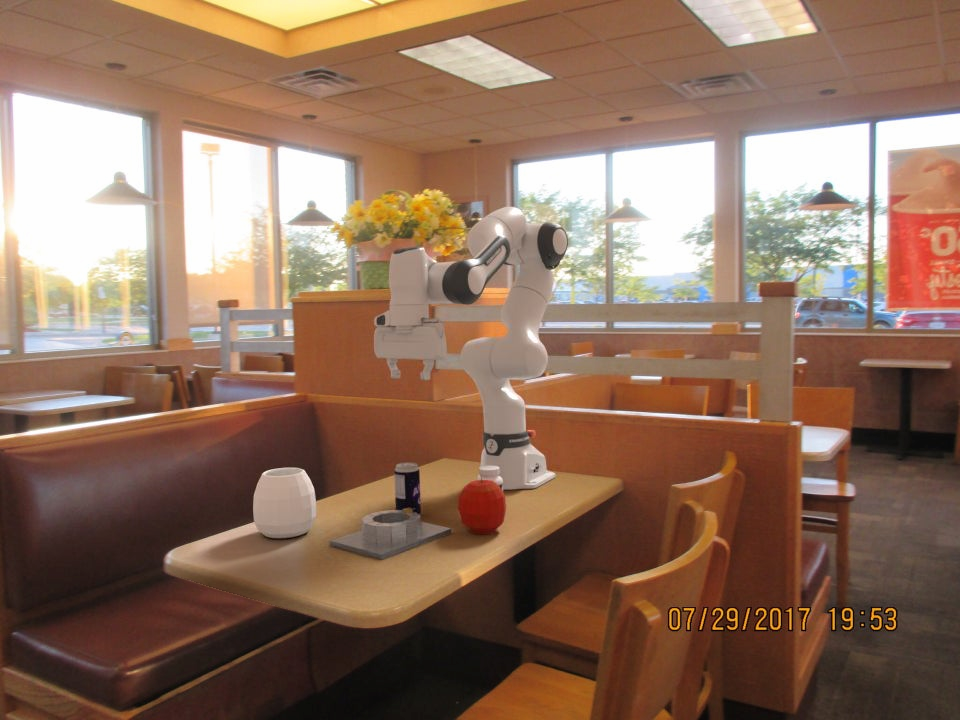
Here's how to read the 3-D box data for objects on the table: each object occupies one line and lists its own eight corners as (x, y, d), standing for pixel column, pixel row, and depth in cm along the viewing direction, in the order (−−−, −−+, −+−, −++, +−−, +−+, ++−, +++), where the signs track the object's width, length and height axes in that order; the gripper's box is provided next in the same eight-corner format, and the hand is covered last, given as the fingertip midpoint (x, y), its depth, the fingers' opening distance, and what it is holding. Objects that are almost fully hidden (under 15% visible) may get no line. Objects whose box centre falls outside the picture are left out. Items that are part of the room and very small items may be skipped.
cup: (294, 545, 153) (291, 480, 152) (241, 540, 158) (237, 477, 157) (329, 527, 165) (326, 466, 164) (278, 522, 170) (275, 463, 169)
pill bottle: (476, 519, 168) (475, 471, 167) (475, 512, 174) (474, 465, 173) (504, 518, 168) (503, 470, 167) (502, 511, 174) (501, 464, 173)
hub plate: (400, 521, 168) (399, 498, 168) (451, 533, 158) (450, 508, 158) (330, 545, 152) (329, 519, 152) (381, 559, 143) (380, 532, 143)
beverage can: (417, 520, 169) (415, 467, 168) (392, 519, 170) (390, 467, 169) (423, 513, 174) (422, 462, 173) (400, 512, 175) (398, 461, 174)
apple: (501, 522, 165) (500, 470, 164) (511, 536, 155) (510, 480, 155) (456, 526, 164) (454, 473, 163) (462, 540, 154) (461, 484, 153)
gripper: (452, 317, 167) (453, 380, 167) (388, 318, 180) (389, 376, 180) (433, 317, 162) (434, 382, 163) (368, 318, 175) (370, 378, 176)
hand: (410, 379), depth 172 cm, fingers open, 8 cm apart
